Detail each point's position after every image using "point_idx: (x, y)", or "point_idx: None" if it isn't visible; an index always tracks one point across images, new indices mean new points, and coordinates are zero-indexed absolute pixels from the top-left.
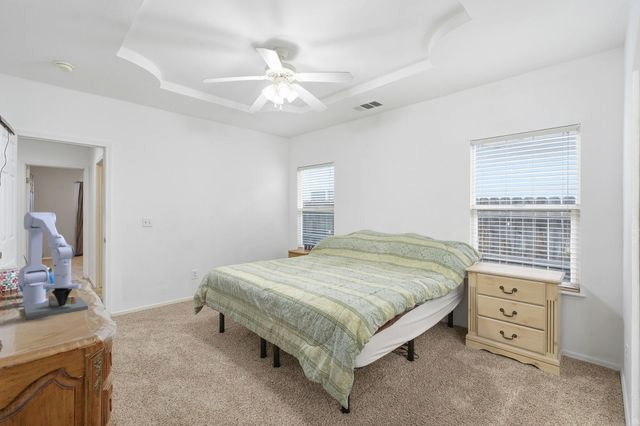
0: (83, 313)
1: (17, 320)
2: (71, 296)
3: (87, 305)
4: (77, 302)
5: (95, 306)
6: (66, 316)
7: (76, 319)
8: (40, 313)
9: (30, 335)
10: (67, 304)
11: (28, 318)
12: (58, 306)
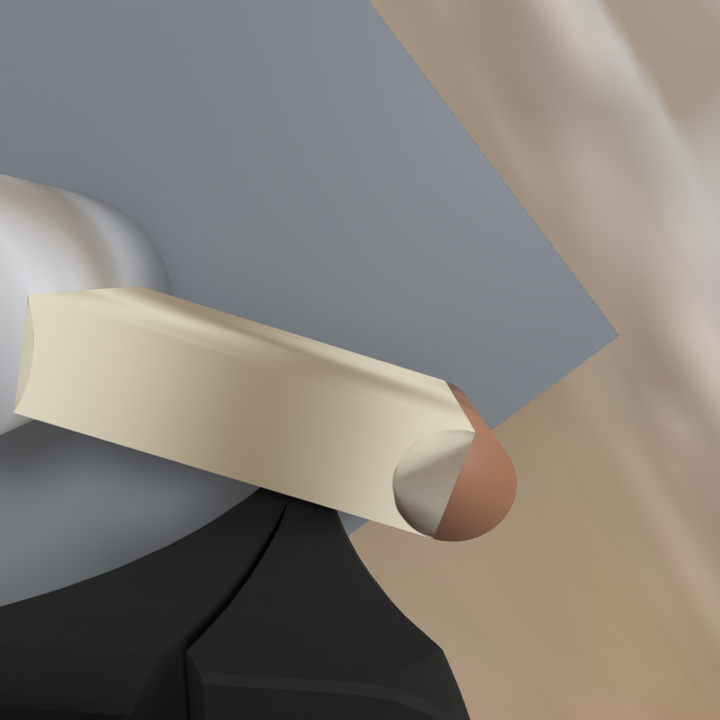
0: (626, 508)
1: None
2: (397, 474)
3: (603, 319)
4: (310, 110)
5: (638, 187)
6: (482, 594)
7: (655, 692)
8: None
9: None
10: (221, 236)
11: None
12: None
